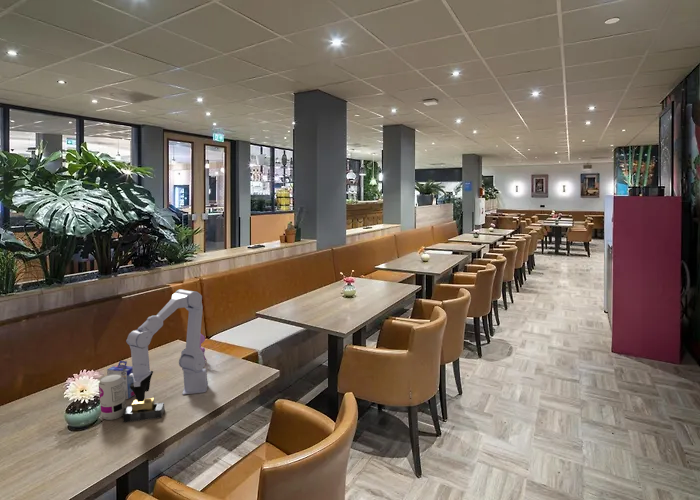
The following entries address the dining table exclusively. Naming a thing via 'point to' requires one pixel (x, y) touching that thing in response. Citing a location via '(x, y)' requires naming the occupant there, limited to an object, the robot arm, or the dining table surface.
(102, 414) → the supplement can
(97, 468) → the dining table surface
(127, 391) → the ink cartridge box
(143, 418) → the rail
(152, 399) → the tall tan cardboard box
